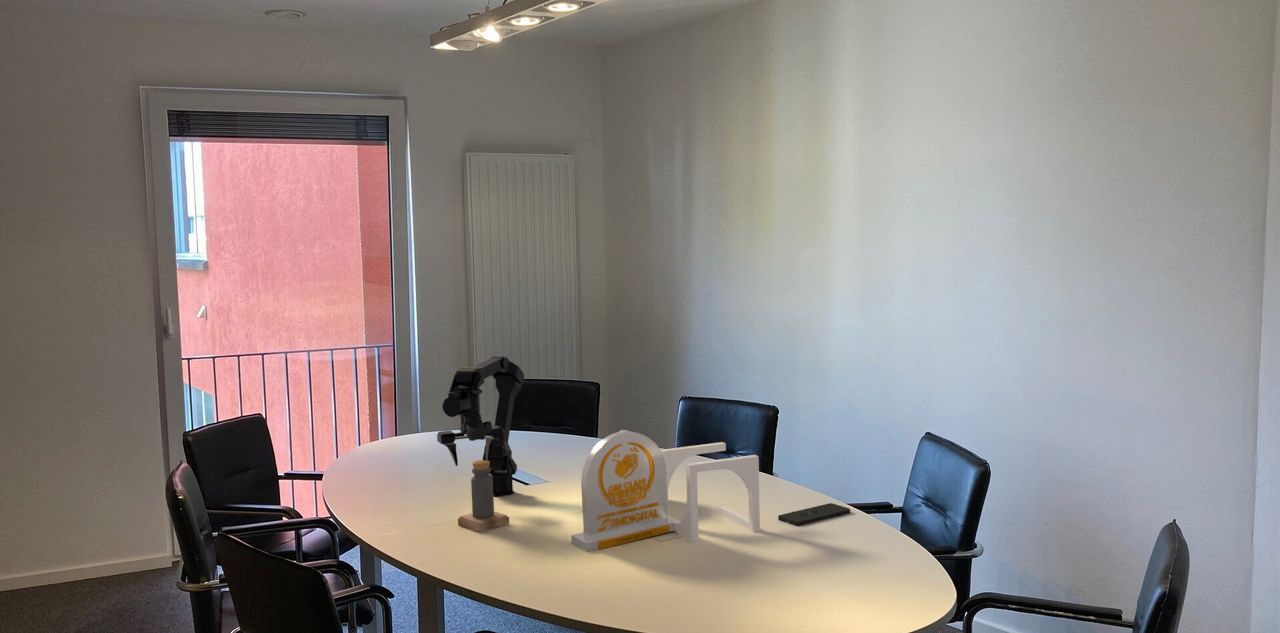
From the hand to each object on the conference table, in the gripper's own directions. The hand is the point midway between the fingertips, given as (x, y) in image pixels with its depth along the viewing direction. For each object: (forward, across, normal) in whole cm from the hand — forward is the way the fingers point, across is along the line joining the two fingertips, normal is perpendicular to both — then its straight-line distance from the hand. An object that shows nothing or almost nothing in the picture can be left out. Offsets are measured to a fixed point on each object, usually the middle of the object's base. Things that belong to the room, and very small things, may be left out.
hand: (472, 463), depth 290 cm
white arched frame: (+14, +51, -50) cm, 73 cm away
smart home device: (+14, +80, -56) cm, 99 cm away
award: (+13, +28, -48) cm, 57 cm away
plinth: (+13, -2, -18) cm, 22 cm away
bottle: (+11, -2, -18) cm, 21 cm away
